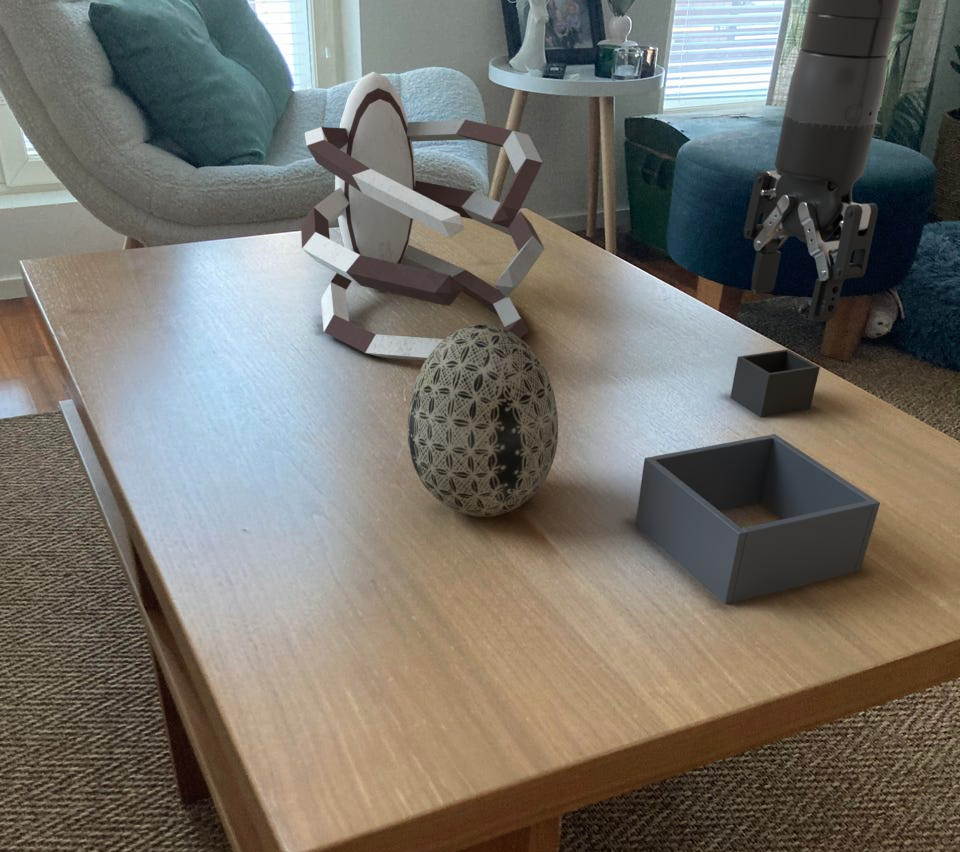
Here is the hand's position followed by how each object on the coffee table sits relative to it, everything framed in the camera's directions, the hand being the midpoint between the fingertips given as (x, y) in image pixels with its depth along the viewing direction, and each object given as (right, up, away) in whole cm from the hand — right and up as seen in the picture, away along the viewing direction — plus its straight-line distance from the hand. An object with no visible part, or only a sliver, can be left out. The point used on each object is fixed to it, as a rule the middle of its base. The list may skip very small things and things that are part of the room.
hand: (789, 305), depth 96 cm
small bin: (0, -8, +6) cm, 10 cm away
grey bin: (-9, -25, -17) cm, 31 cm away
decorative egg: (-29, -21, -12) cm, 37 cm away
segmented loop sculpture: (-36, +5, +23) cm, 43 cm away
